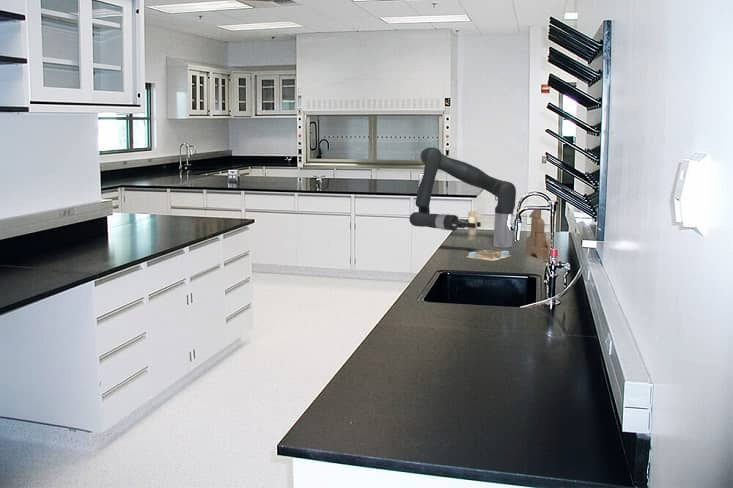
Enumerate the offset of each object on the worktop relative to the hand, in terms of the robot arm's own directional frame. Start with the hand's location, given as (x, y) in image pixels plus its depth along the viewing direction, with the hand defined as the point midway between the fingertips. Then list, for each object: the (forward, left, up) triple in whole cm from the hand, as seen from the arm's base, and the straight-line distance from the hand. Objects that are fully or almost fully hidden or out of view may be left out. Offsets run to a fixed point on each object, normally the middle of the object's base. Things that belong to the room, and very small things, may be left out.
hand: (477, 225), depth 332 cm
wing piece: (-3, +13, -14) cm, 19 cm away
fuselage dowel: (0, -3, -7) cm, 8 cm away
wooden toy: (-14, +25, -15) cm, 32 cm away
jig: (+2, +8, -15) cm, 17 cm away
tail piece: (+9, +4, -14) cm, 16 cm away
